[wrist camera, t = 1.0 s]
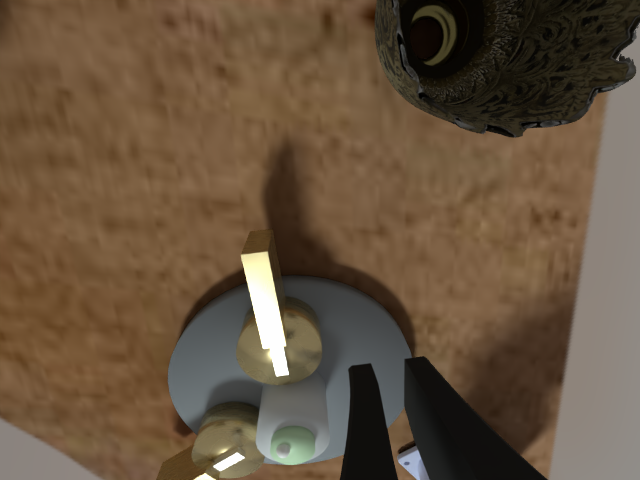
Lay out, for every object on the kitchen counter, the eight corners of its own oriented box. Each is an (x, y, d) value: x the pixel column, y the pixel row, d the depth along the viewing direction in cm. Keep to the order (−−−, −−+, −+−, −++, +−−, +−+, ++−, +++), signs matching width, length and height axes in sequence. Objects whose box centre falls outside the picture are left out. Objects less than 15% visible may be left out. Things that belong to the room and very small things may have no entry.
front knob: (323, 352, 20) (327, 391, 17) (251, 361, 20) (243, 402, 17) (306, 223, 16) (307, 246, 14) (217, 234, 16) (200, 259, 14)
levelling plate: (447, 385, 24) (489, 465, 19) (278, 474, 27) (272, 564, 22) (319, 224, 18) (327, 274, 12) (121, 363, 21) (61, 450, 16)
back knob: (237, 391, 21) (227, 434, 18) (281, 427, 23) (278, 471, 20) (145, 448, 23) (124, 495, 20) (192, 477, 25) (179, 524, 22)
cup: (388, -101, 12) (516, -398, 5) (533, -17, 14) (797, -157, 6) (324, 90, 15) (346, 75, 8) (451, 144, 16) (572, 173, 9)
